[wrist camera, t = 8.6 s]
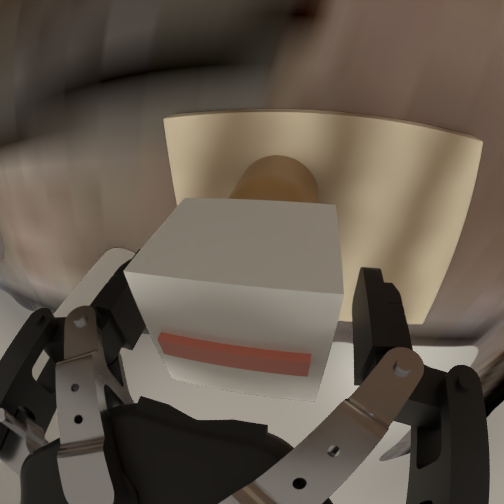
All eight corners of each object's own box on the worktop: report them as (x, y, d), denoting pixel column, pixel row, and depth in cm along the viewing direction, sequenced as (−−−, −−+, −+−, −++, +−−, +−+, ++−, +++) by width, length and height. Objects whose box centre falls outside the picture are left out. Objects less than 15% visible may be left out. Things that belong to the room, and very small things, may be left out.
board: (472, 135, 13) (483, 141, 12) (419, 311, 22) (422, 324, 21) (173, 114, 17) (163, 118, 16) (204, 294, 26) (198, 306, 25)
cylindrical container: (120, 301, 30) (17, 488, 10) (91, 250, 26) (-46, 449, 6) (171, 303, 28) (66, 531, 8) (142, 244, 24) (-13, 501, 4)
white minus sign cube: (335, 204, 10) (344, 303, 6) (320, 314, 13) (313, 408, 9) (185, 197, 11) (118, 278, 7) (205, 302, 14) (169, 384, 10)
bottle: (319, 157, 16) (322, 253, 8) (315, 228, 18) (308, 351, 11) (237, 154, 16) (166, 241, 9) (242, 223, 19) (193, 336, 12)
